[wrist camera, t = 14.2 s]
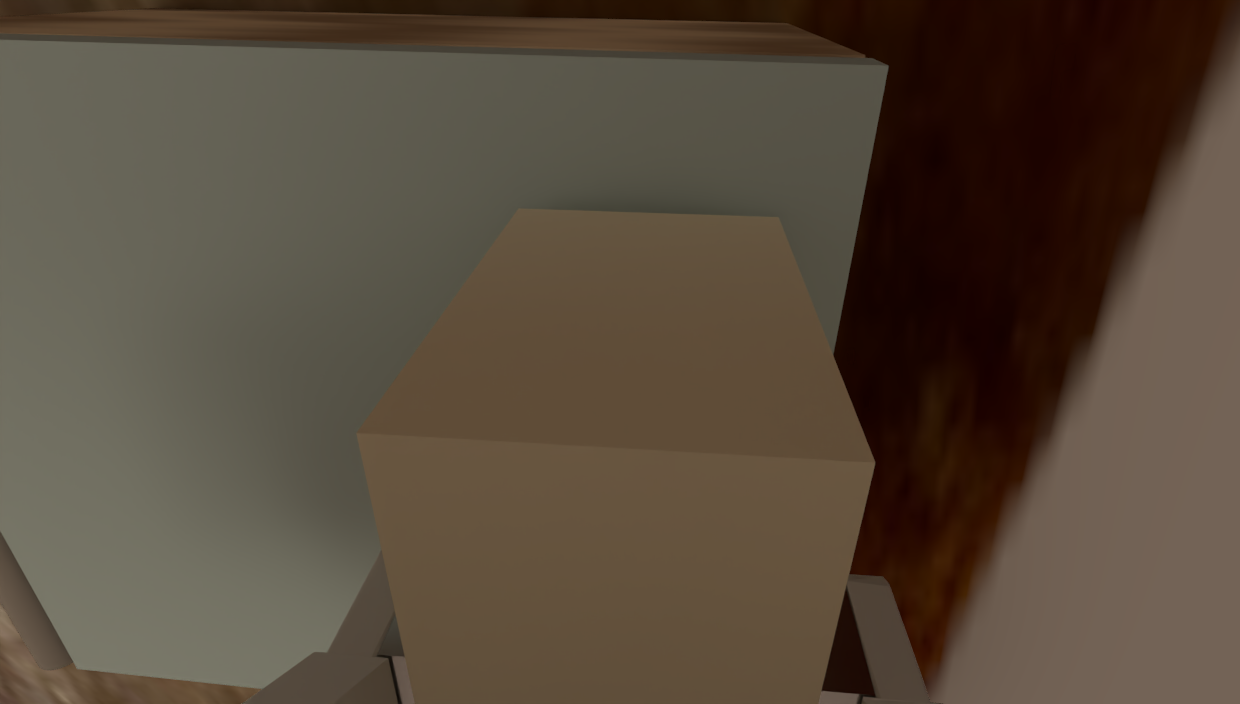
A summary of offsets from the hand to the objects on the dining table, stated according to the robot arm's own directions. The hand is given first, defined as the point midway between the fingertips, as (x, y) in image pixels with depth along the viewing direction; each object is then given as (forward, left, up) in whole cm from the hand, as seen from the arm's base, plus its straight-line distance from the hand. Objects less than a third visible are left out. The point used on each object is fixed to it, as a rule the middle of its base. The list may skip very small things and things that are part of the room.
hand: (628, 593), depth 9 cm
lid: (-5, 0, -3) cm, 6 cm away
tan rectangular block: (0, 0, -2) cm, 2 cm away
